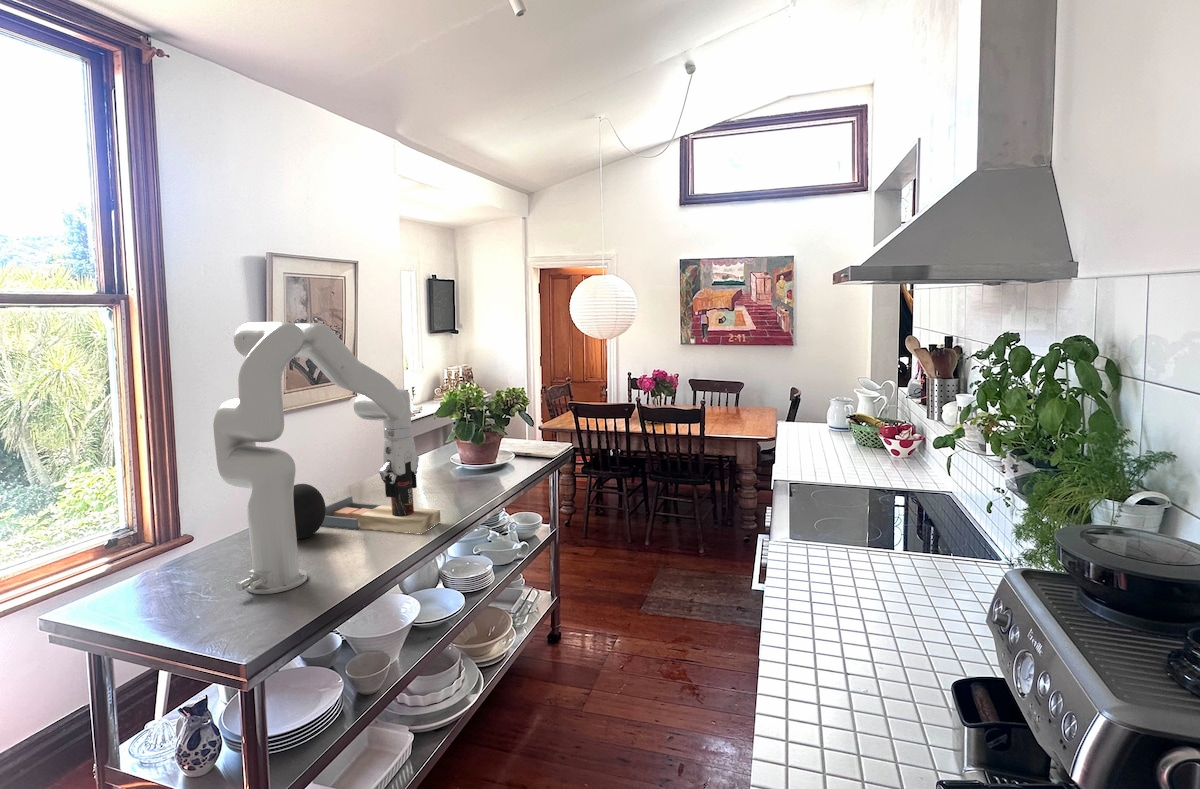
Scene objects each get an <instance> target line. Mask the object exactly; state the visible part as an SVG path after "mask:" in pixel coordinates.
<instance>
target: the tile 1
mask: <svg viewBox="0 0 1200 789" xmlns="http://www.w3.org/2000/svg"><path fill="white" fill-rule="evenodd" d="M357 510H359V509H358V508H349V507H345V508H342V509H340V510H337V511H335V512H334V517H345V518H351V513H352V512H355V511H357Z"/></svg>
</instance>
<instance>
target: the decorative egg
mask: <svg viewBox="0 0 1200 789" xmlns="http://www.w3.org/2000/svg"><path fill="white" fill-rule="evenodd" d="M293 499H294V514H295V525H296V537H297V539H306V538H309V537H311V536H312V535H314V534H315V533H317V532H318V530H319V529H320V528H321V527H322V526H321V525H322V523H323V521H324V518H325V513H326V506H327V505H326V502H325V499H324V497H323V494H322V493H321V492H320V491H319V490H318V489H317V488H316V487H315V486H313V485H310V484H308V483H296V484H294V491H293Z"/></svg>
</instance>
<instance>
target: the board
mask: <svg viewBox="0 0 1200 789" xmlns="http://www.w3.org/2000/svg"><path fill="white" fill-rule="evenodd" d="M379 505H380V506H378V507H376V508H374V509H372V510H370V511H368V512H365V513H363V514H361V515H360V528H359V529H360V530H367V529H373V530H372V531H377V530H384V531H383V532H387V531H394V532H393V533H397V532H408V533H409V532H410V533H420V534H421V533H423V532H425V531H426V530H428V529H430V528H431V527H433V526H434V525H436V524H438V523H439V522H441V510H440V509H433V508H432V509H431V508H420V507H419V508H418V507H417V508H416V507H414V513H413V514H411V515H408V516H393V515H392V505H385V504H379ZM441 523H442V522H441ZM430 530H431V529H430ZM425 533H426V532H425Z"/></svg>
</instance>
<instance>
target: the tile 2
mask: <svg viewBox="0 0 1200 789" xmlns="http://www.w3.org/2000/svg"><path fill="white" fill-rule="evenodd" d="M370 510H372V509H365V508H362V509H359V510H357V511H355V512H352V513H351V518H355V519H358V522H360V515H361V514H363V513H365V512H368V511H370Z"/></svg>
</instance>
